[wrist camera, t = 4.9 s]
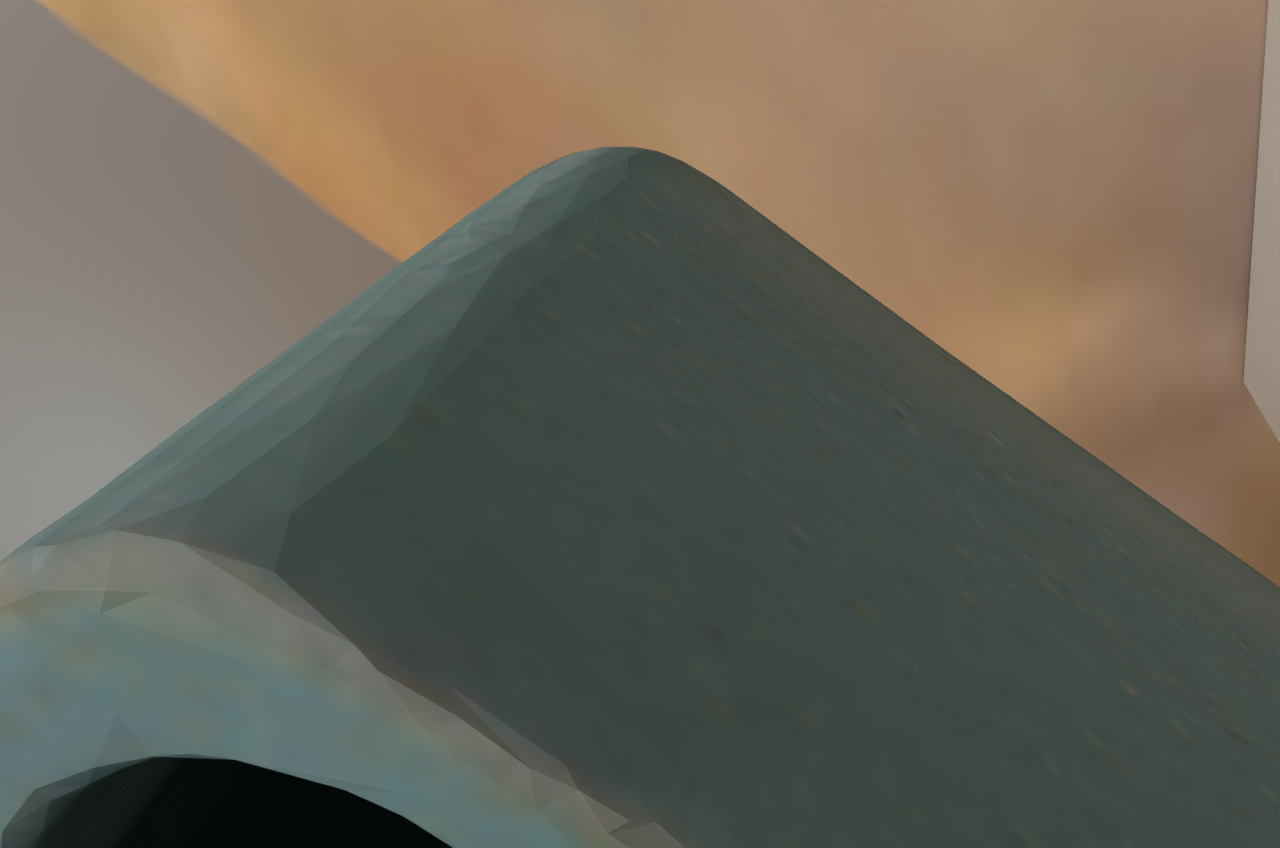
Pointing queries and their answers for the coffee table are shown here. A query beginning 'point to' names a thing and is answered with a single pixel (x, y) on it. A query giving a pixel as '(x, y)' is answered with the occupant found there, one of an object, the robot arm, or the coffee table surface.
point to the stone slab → (1266, 243)
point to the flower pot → (630, 578)
